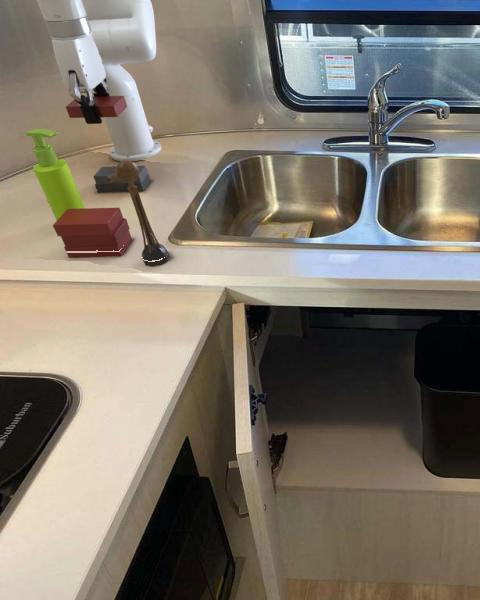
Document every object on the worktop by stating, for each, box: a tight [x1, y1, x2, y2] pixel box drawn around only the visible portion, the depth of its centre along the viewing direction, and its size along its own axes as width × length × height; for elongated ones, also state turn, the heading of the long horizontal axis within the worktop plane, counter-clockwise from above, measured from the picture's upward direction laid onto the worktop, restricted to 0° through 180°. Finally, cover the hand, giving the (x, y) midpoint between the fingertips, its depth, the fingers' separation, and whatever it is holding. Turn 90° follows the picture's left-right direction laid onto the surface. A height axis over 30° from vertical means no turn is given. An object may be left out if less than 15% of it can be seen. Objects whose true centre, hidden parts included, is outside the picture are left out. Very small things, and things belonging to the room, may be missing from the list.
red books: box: [52, 207, 133, 258], centre depth 106 cm, size 10×6×7 cm, turn 92°
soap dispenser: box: [25, 128, 86, 221], centre depth 110 cm, size 6×7×20 cm
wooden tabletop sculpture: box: [106, 160, 171, 268], centre depth 99 cm, size 6×5×20 cm
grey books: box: [93, 165, 151, 193], centre depth 128 cm, size 10×5×4 cm, turn 92°
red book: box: [65, 95, 127, 119], centre depth 118 cm, size 10×6×2 cm, turn 92°
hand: (100, 116), depth 120 cm, fingers closed on red book, 6 cm apart
